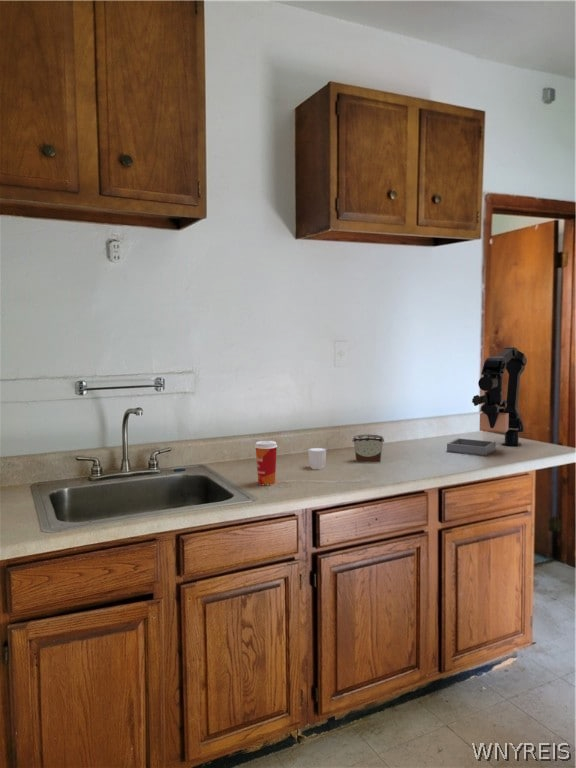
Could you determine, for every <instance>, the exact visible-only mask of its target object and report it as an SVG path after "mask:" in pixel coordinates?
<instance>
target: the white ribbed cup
mask: <svg viewBox="0 0 576 768" xmlns="http://www.w3.org/2000/svg"><path fill="white" fill-rule="evenodd" d="M307 451H308V453H307V454H308V462H309V468H310V467H311V468H317V469H319V468H324V467H325V468H326V459H327V458H326V457H327V448H324V447H312V448H308V449H307ZM311 468H310V469H311ZM325 468H324V469H325ZM319 470H320V469H319Z"/></svg>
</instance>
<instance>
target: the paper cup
mask: <svg viewBox="0 0 576 768" xmlns="http://www.w3.org/2000/svg"><path fill="white" fill-rule="evenodd" d="M277 448H278V445H277V442H276V441H274V440H260V441H256V442H255V445H254V449H255V457H256V471H257V481H258V485H259V484H265V485H267V484H274V483H275V484H276V471H277ZM275 484H274V485H275Z"/></svg>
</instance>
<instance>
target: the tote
mask: <svg viewBox="0 0 576 768" xmlns="http://www.w3.org/2000/svg"><path fill="white" fill-rule="evenodd" d="M508 424H509V413H499V415H498V418H497V420H496V423H495V425H494V428H490V424H489V420H488V416H487V415H486V414H485V413H484V412H483V411H481V413H479V431H480V432H490V433H491V432H493V433H503V434H505V432H507V431H508Z"/></svg>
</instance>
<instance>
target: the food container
mask: <svg viewBox="0 0 576 768" xmlns="http://www.w3.org/2000/svg"><path fill="white" fill-rule="evenodd" d="M352 443H353V445H354V456H355V463H362V462H382V461H381V460H382V451H383V443H385V438H384V436H382V435H380V434H379V435H378V434H371V433H369V434H357V435H354V436H353V438H352Z"/></svg>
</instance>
